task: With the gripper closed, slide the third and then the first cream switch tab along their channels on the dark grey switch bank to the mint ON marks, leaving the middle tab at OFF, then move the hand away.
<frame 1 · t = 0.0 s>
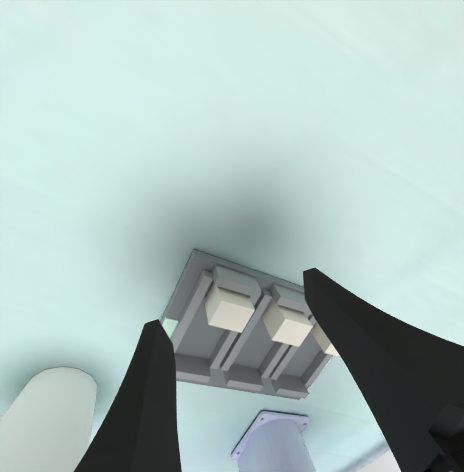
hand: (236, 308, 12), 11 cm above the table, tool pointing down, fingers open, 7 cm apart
foam cup: (63, 388, 26), on the table
tab 1: (333, 334, 26), point 3 cm above the table, slide at 0.0 cm
switch bank: (254, 333, 27), on the table
tab 2: (285, 320, 24), point 3 cm above the table, slide at 0.0 cm
tab 3: (228, 304, 22), point 3 cm above the table, slide at 0.0 cm
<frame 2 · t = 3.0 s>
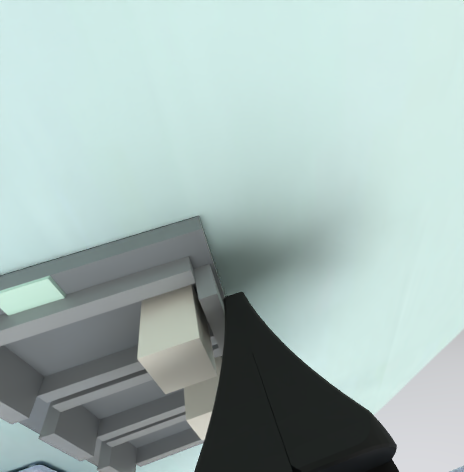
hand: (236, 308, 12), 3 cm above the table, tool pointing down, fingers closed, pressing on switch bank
switch bank: (139, 370, 17), on the table
tab 2: (210, 392, 15), point 3 cm above the table, slide at 0.0 cm
tab 3: (178, 335, 12), point 3 cm above the table, slide at 0.0 cm
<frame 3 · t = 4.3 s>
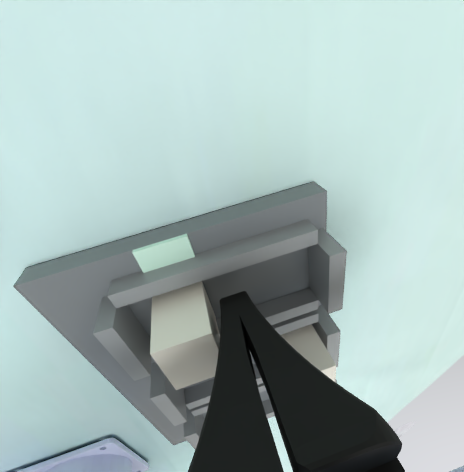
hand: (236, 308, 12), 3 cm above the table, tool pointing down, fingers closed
switch bank: (222, 341, 18), on the table
tab 2: (302, 359, 16), point 3 cm above the table, slide at 0.0 cm
tab 3: (188, 331, 12), point 3 cm above the table, slide at 5.4 cm, touching gripper
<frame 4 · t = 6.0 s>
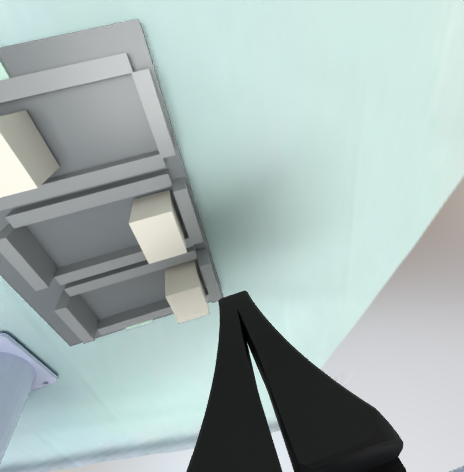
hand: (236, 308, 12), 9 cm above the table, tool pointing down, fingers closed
tab 1: (186, 289, 20), point 3 cm above the table, slide at 0.0 cm
switch bank: (97, 222, 18), on the table
tab 2: (159, 225, 16), point 3 cm above the table, slide at 0.0 cm
tab 3: (6, 153, 12), point 3 cm above the table, slide at 5.4 cm
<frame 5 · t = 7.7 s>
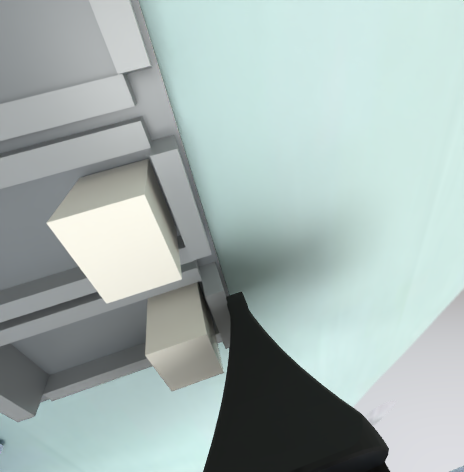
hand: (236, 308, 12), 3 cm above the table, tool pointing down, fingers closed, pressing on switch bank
tab 1: (184, 332, 12), point 3 cm above the table, slide at 0.0 cm
switch bank: (27, 222, 10), on the table
tab 2: (128, 226, 8), point 3 cm above the table, slide at 0.0 cm
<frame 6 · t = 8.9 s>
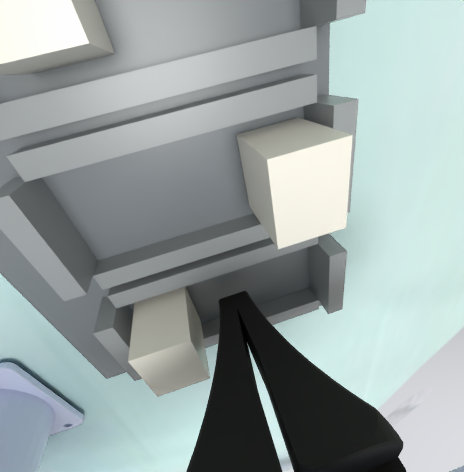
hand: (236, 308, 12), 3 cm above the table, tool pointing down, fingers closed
tab 1: (171, 337, 12), point 3 cm above the table, slide at 6.2 cm
switch bank: (161, 184, 11), on the table
tab 2: (289, 179, 9), point 3 cm above the table, slide at 0.0 cm
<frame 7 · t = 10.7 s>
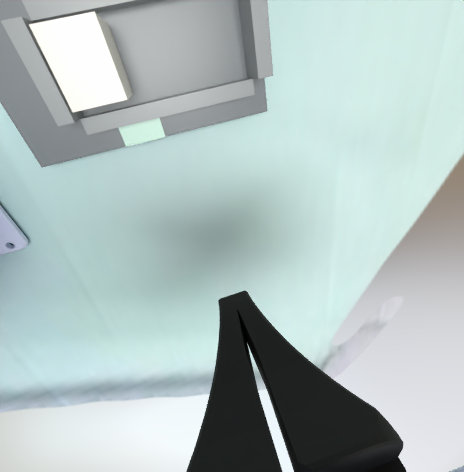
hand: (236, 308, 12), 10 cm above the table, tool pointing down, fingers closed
tab 1: (91, 66, 12), point 3 cm above the table, slide at 6.2 cm
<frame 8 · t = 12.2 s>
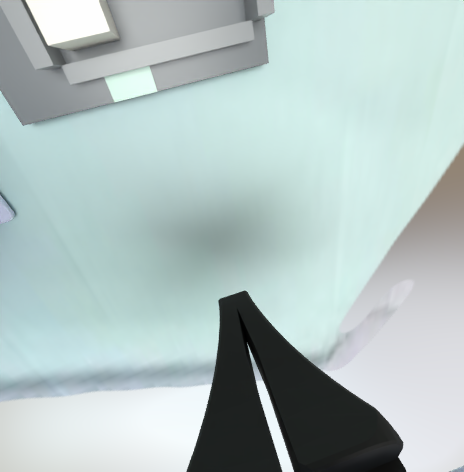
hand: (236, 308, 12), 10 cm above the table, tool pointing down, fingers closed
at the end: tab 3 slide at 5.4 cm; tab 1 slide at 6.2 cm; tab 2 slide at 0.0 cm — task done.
